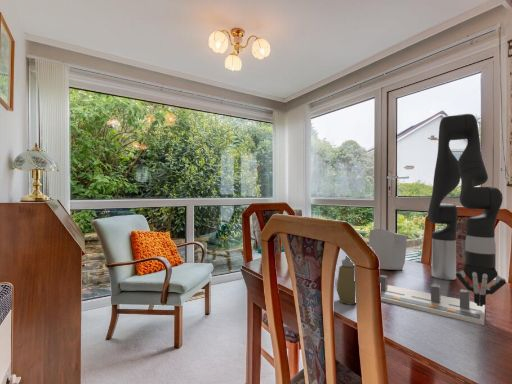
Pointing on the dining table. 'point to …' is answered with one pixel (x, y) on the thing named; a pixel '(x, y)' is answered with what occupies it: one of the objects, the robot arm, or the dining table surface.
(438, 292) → the slider middle
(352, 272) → the squeeze bottle
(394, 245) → the electrical switch box
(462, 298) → the slider
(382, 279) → the slider
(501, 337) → the dining table surface
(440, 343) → the dining table surface
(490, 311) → the dining table surface
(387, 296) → the switch panel
